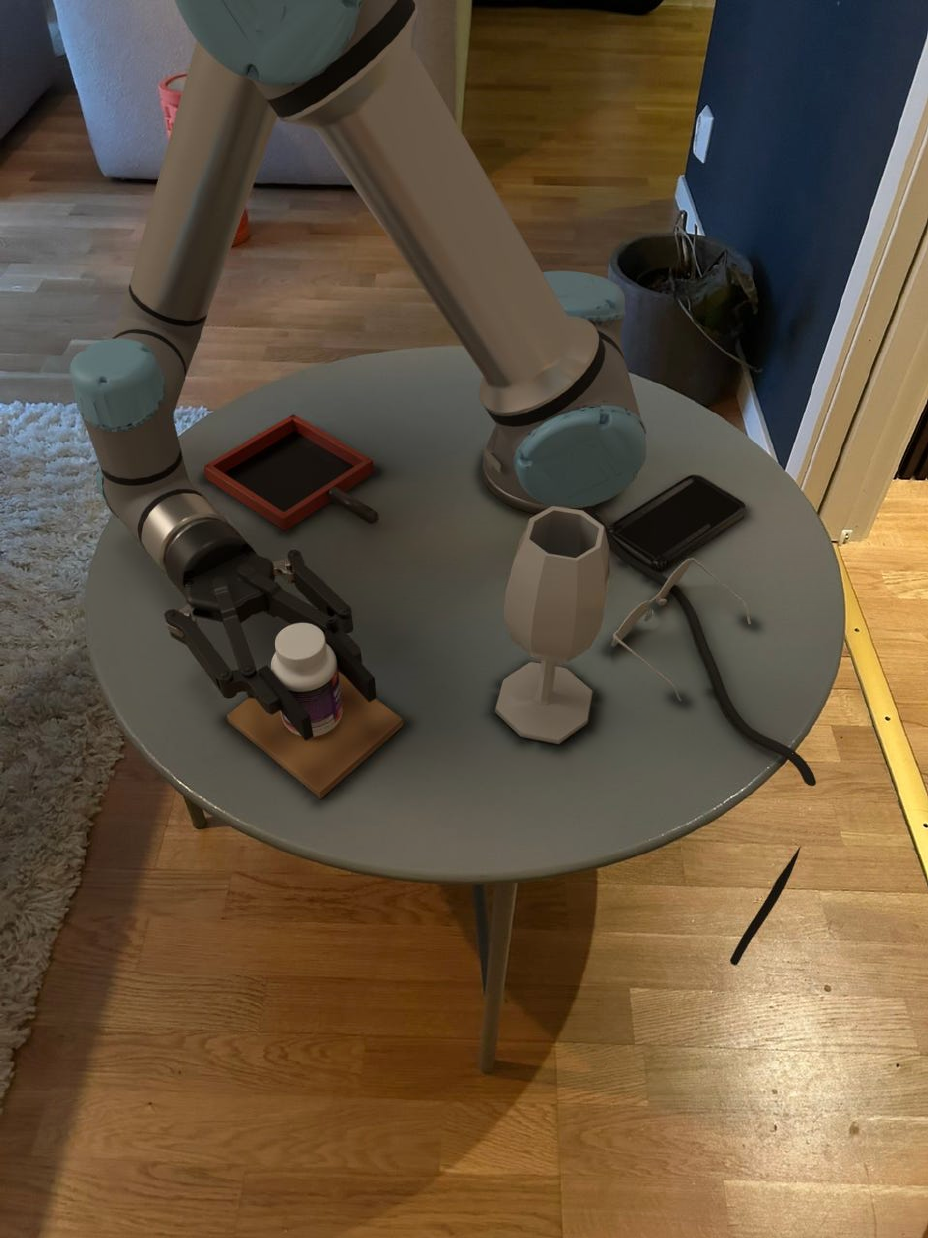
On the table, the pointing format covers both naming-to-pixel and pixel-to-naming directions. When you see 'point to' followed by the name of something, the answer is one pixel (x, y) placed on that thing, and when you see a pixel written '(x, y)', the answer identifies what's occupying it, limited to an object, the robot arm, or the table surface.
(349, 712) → the wooden board
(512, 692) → the wineglass
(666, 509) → the phone
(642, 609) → the sunglasses
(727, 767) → the table surface
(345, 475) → the pan
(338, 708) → the pill bottle
